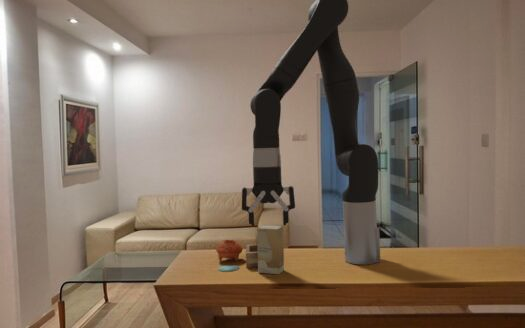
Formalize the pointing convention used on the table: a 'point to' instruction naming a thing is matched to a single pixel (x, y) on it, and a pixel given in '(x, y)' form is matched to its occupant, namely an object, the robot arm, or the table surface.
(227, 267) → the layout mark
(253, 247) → the open wooden box
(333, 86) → the robot arm
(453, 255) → the table surface
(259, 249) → the skincare box
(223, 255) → the pot
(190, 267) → the table surface
